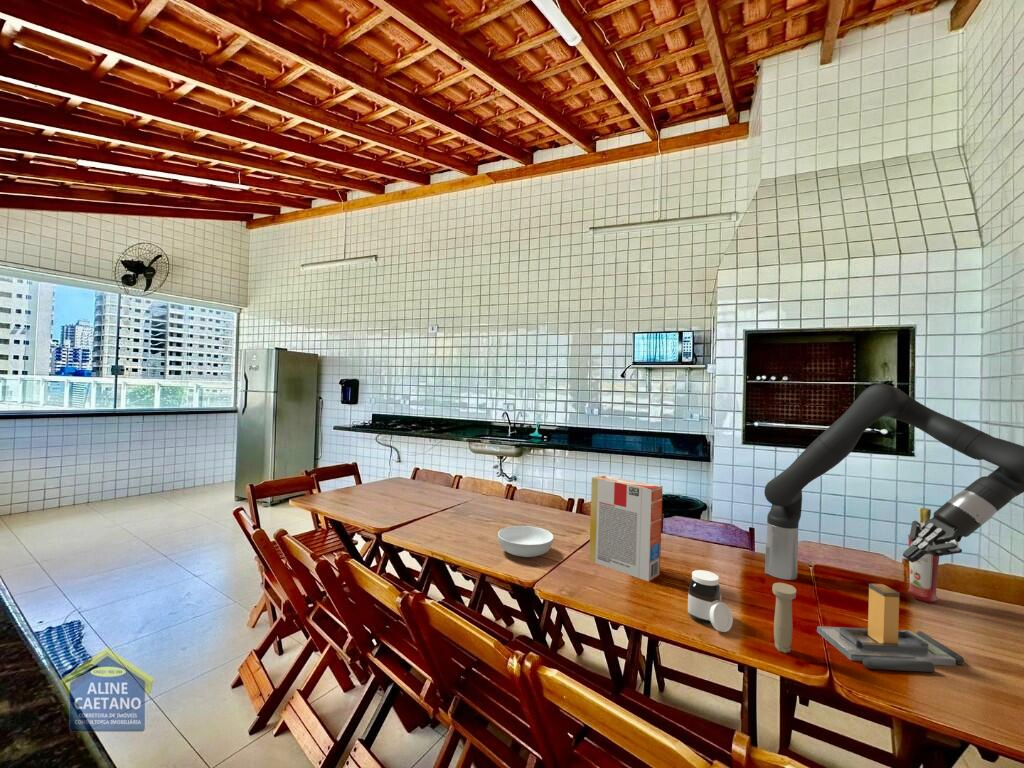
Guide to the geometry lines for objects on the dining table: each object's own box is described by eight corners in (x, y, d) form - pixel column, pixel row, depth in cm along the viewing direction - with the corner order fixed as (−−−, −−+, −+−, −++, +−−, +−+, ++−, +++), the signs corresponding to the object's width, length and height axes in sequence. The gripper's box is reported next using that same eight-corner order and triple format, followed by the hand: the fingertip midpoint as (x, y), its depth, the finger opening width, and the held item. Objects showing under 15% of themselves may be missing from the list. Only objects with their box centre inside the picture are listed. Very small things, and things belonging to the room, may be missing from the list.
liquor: (901, 595, 138) (903, 506, 138) (915, 592, 141) (917, 504, 141) (930, 606, 131) (932, 513, 132) (944, 602, 134) (946, 511, 134)
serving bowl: (532, 569, 149) (533, 548, 149) (485, 553, 162) (486, 534, 162) (563, 551, 166) (564, 533, 166) (519, 538, 179) (519, 522, 179)
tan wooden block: (882, 635, 111) (883, 584, 111) (898, 646, 106) (899, 593, 106) (867, 634, 111) (868, 583, 111) (882, 646, 107) (884, 592, 107)
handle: (795, 647, 108) (797, 586, 108) (792, 660, 103) (794, 596, 103) (772, 640, 111) (774, 580, 111) (769, 651, 106) (770, 589, 106)
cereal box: (659, 574, 148) (662, 485, 148) (648, 581, 142) (651, 489, 142) (601, 554, 164) (603, 474, 164) (589, 560, 158) (591, 477, 158)
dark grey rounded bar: (915, 638, 113) (916, 631, 113) (923, 639, 113) (924, 631, 113) (957, 666, 102) (958, 657, 102) (966, 666, 102) (967, 657, 102)
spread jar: (695, 605, 127) (696, 565, 127) (738, 620, 120) (739, 577, 120) (681, 622, 118) (682, 579, 118) (727, 638, 111) (728, 592, 111)
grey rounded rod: (926, 668, 101) (926, 659, 101) (934, 674, 99) (935, 665, 99) (860, 665, 102) (860, 656, 102) (867, 670, 100) (867, 661, 100)
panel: (910, 636, 114) (910, 624, 115) (955, 665, 102) (956, 652, 103) (817, 632, 115) (817, 620, 115) (850, 660, 103) (851, 647, 103)
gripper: (931, 492, 115) (877, 536, 118) (978, 515, 102) (917, 564, 105) (951, 510, 115) (898, 554, 119) (1001, 536, 102) (939, 584, 106)
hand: (907, 558), depth 112 cm, fingers closed
